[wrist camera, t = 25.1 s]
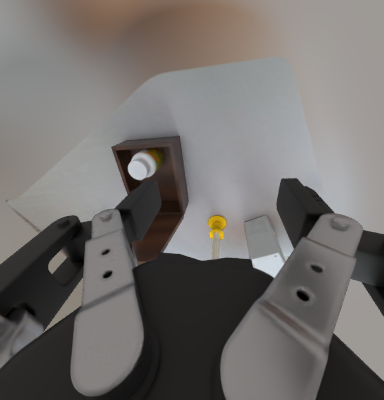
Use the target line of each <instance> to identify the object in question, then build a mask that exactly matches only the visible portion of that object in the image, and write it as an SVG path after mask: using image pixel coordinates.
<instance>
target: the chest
mask: <svg viewBox="0 0 384 400" xmlns="http://www.w3.org/2000/svg"><path fill="white" fill-rule="evenodd" d="M157 147H159V148H161V149H162V151H163V152H164V155H165V161H164V163H163V165H162V166H161V167H160V168H159V169H158V170H157V171H156V172H155V173H154V174H153V175H152V176H150V177H147V178H144V179H142V180H137V179H134V178H133V177H132V176H131V175H130V174H129V172H128V165H129V163H130V162H131V160H132V158H133V156H134V155H135V154H137V153H138V152H140V151H141V150H143V149H145V148H157ZM111 148H112V151H113V153H114V156H115V159H116V162H117V165H118V168H119V171H120V174H121V177H122V180H123V182H124V185H125V188H126V191H127V194H129V193H130V192H131V191H133V190H134V189H136V188H138V187H139V186H140V185H141V184H142V183H143V182H144V181H147V180H155V181H157V184H158V188H159V192H160V197H161V208H160V210H159V212H158V213H157V214H173V215H184V214H185V211H186V208H187V205H188V202H189V201H188V193H187V186H186V179H185V172H184V165H183V157H182V150H181V143H180V136H175V137H163V138H152V139H140V140H128V141H124V142H122V143H120V144H117V145H115V146H113V147H111Z"/></svg>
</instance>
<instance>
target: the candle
mask: <svg viewBox="0 0 384 400" xmlns="http://www.w3.org/2000/svg"><path fill="white" fill-rule="evenodd" d="M208 224H209V226H210V228H211V229H212V231H210V233H209V236H210V238H211V239H213V246H212V260H213V259H219V241H220V240H221V239H222V238H223V237H224V233H223V232H222V229H224V228H225V226H226V220H225V219H224V218H223V217H222V216H218V215H216V216H212V217H211V218H210V219H209V221H208Z"/></svg>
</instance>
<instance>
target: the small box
mask: <svg viewBox="0 0 384 400" xmlns="http://www.w3.org/2000/svg"><path fill="white" fill-rule="evenodd" d="M244 226H245V232H246V239H247V245H248V251H249V258H250V259H252V264H253V266H254V267H255V268H257V269H259V270H261V271H264V272H266V273H268V274H269V275H271V276H272V277H274V278H275V276H276V275H277V274H278V272H279V271H280V269H281V268H282V266H283V265H284V263H285V259H284V256H283V253H282V250H281V248H280V245H279V242H278V239H277V236H276V234H275V232H274V230H273V228H272V226H271V224H270V222H269V220H268V218H267V216H266V215H265V216H262V217H259V218H256V219H253V220H250V221H248V222H245V223H244Z"/></svg>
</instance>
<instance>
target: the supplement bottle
mask: <svg viewBox="0 0 384 400" xmlns="http://www.w3.org/2000/svg"><path fill="white" fill-rule="evenodd" d="M164 161H165V155H164V152H163V151H162V149H161V148H159V147H157V148H145V149H143V150H141V151H140V152H138V153H137V154H135V155H134V156H133V158H132V160H131V162H130V163H129V165H128V172H129V174H130V175H131V176H132V177H133V178H134V179H137V180H142V179H144V178H147V177H150V176H152V175H153V174H154V173H155V172H156V171H157V170H158V169H159V168H160V167H161V166H162V165H163V163H164Z"/></svg>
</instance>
